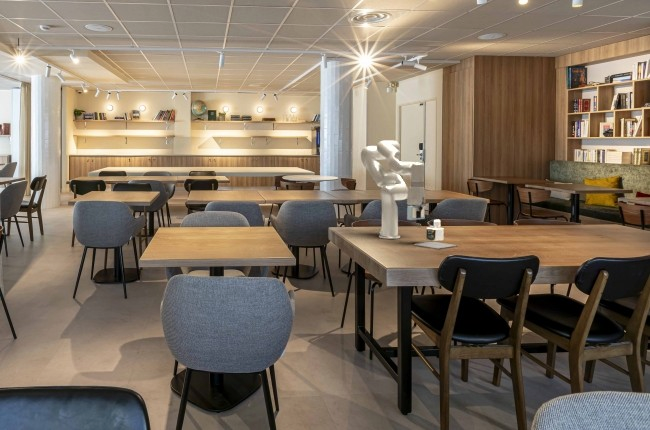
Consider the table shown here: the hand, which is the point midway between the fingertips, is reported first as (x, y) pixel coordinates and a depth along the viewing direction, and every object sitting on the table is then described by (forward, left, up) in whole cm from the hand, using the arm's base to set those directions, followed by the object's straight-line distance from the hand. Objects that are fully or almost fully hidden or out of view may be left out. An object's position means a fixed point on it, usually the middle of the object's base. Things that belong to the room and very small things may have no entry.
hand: (416, 217), depth 354 cm
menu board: (0, 0, -1) cm, 1 cm away
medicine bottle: (0, +16, -15) cm, 22 cm away
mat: (+14, 0, -15) cm, 20 cm away
